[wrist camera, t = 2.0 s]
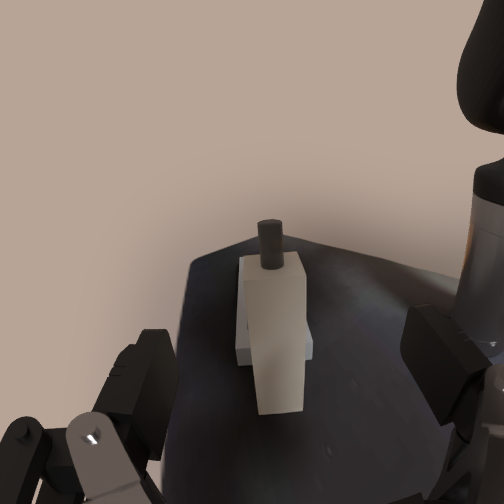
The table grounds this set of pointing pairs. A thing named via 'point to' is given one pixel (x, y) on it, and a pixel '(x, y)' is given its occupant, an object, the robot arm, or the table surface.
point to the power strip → (243, 332)
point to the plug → (276, 321)
